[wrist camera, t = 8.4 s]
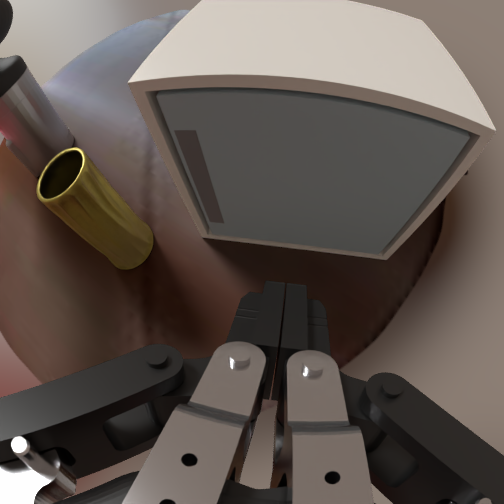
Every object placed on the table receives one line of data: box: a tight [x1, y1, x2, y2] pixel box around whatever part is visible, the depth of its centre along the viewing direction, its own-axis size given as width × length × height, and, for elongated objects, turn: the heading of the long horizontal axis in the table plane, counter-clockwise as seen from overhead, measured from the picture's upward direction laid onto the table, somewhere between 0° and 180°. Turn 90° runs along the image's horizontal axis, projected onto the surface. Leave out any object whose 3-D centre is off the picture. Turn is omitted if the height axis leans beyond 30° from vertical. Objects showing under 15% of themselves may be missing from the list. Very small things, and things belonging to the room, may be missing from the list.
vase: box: [37, 147, 153, 269], centre depth 24 cm, size 6×6×14 cm
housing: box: [128, 0, 496, 260], centre depth 23 cm, size 16×22×20 cm
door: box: [156, 87, 470, 254], centre depth 20 cm, size 1×17×18 cm, turn 81°
